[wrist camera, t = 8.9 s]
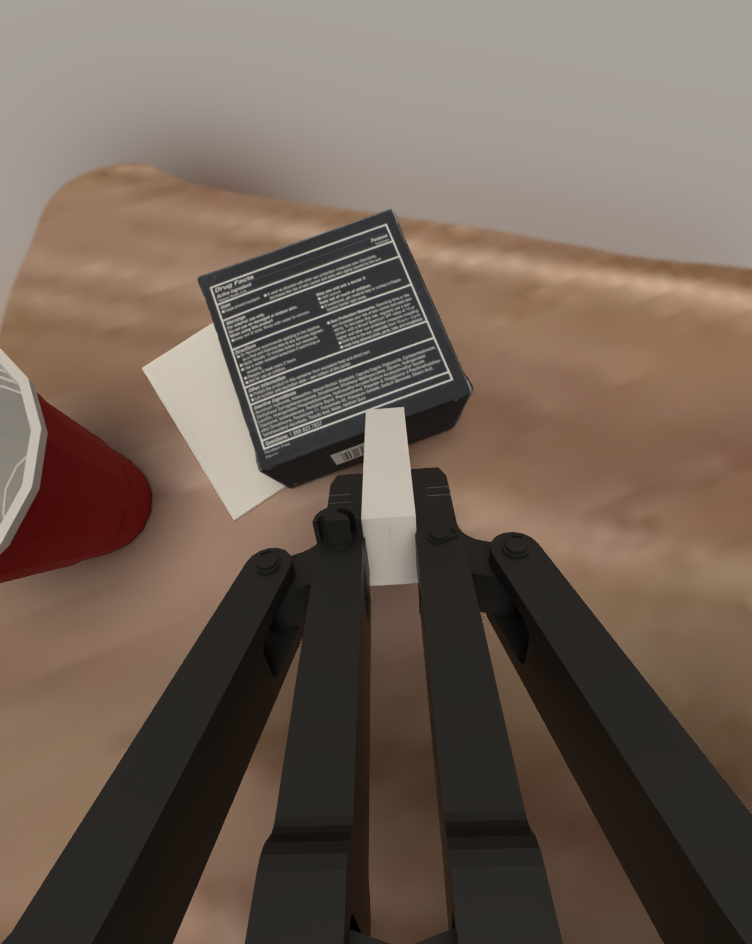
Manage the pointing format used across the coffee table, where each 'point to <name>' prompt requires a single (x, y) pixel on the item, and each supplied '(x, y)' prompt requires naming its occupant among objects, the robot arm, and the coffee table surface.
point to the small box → (333, 347)
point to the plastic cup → (59, 486)
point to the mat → (211, 419)
